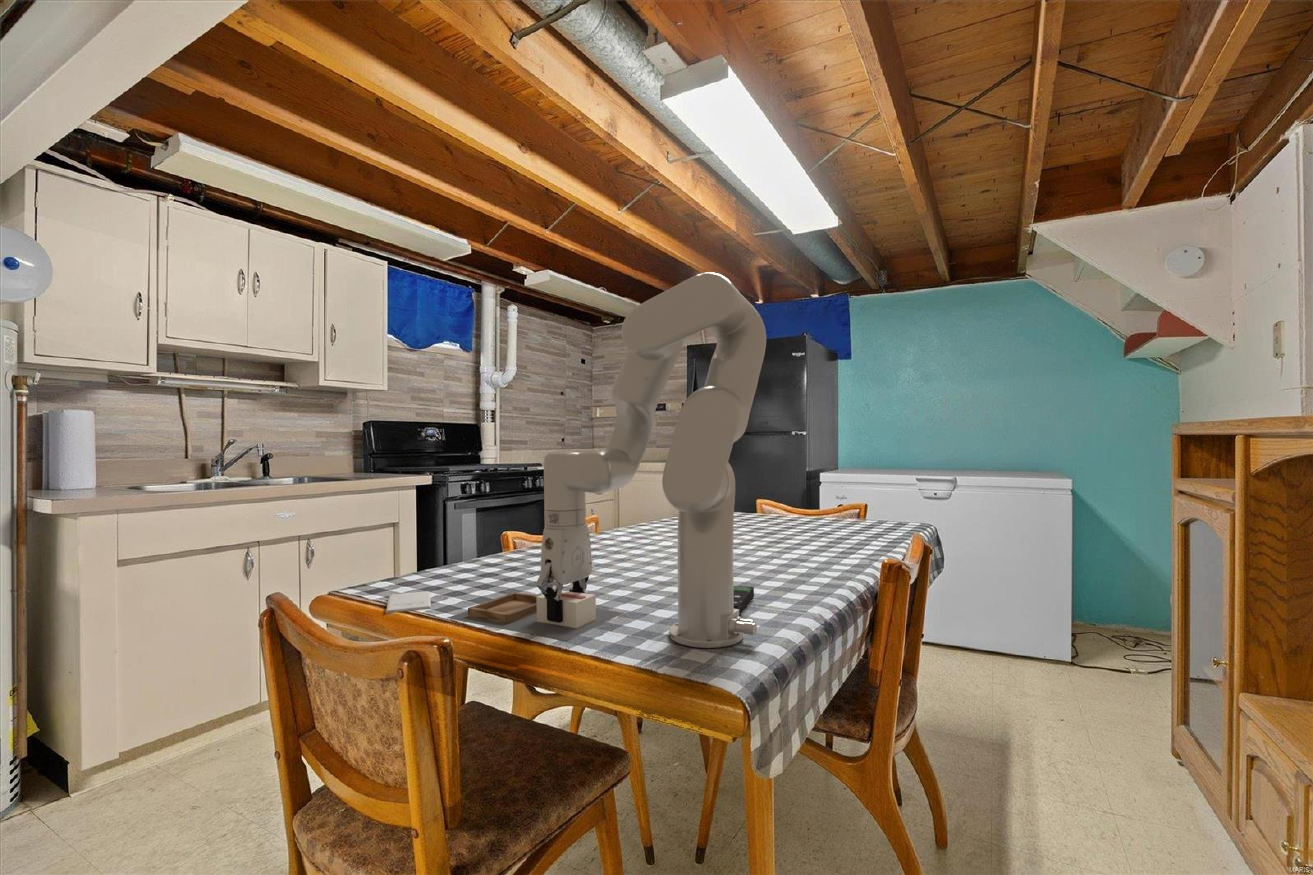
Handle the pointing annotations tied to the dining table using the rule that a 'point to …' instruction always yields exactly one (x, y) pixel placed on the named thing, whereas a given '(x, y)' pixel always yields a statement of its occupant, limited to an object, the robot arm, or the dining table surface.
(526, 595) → the tray
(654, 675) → the dining table surface
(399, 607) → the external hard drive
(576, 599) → the block
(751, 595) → the disk drive
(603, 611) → the mat
